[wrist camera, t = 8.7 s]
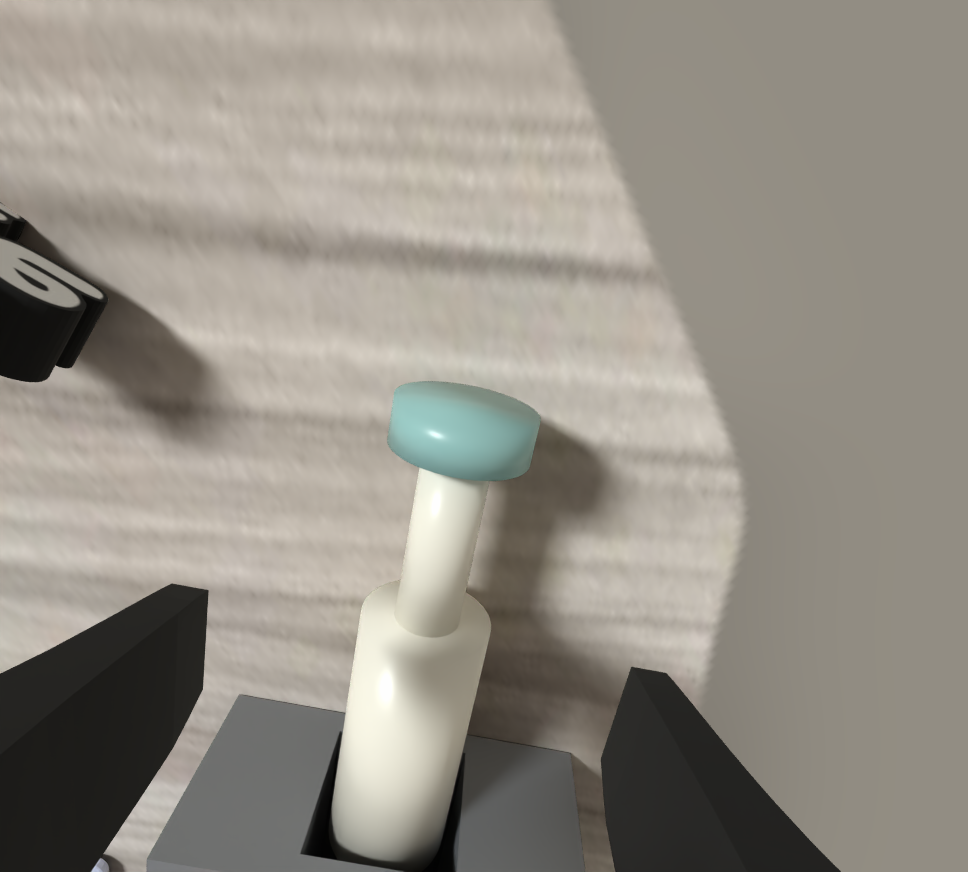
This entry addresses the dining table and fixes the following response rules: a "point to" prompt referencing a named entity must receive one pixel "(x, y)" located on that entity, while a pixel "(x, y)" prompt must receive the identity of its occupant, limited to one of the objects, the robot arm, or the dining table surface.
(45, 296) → the logo
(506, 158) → the dining table surface
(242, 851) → the housing
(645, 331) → the dining table surface
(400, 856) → the push handle
